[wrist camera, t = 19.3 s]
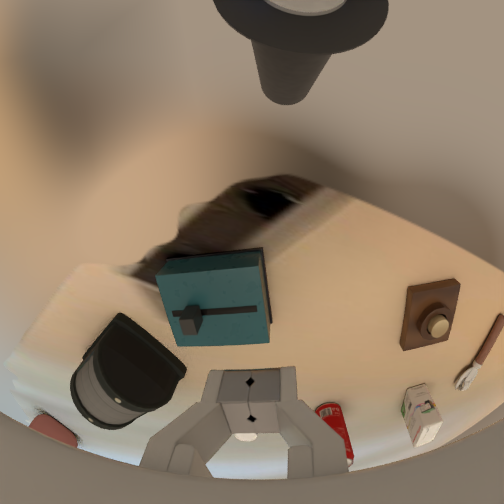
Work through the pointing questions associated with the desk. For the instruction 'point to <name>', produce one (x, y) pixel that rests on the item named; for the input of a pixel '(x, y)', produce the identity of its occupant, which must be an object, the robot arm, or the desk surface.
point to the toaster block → (218, 296)
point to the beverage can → (336, 425)
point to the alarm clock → (53, 429)
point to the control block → (428, 312)
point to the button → (438, 326)
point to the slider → (191, 320)
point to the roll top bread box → (124, 375)
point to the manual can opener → (481, 355)
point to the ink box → (420, 415)
